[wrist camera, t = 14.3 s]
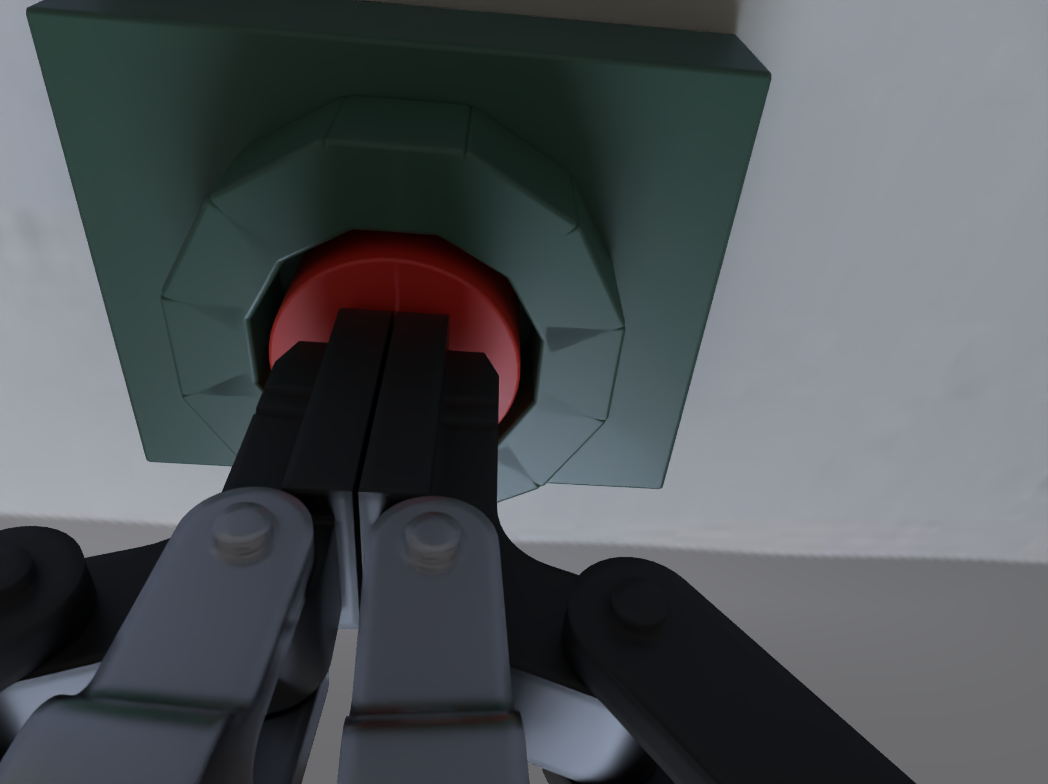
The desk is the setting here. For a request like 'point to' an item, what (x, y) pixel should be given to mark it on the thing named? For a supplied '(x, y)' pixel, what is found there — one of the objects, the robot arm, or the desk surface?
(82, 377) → the desk surface
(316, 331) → the button
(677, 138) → the button box
